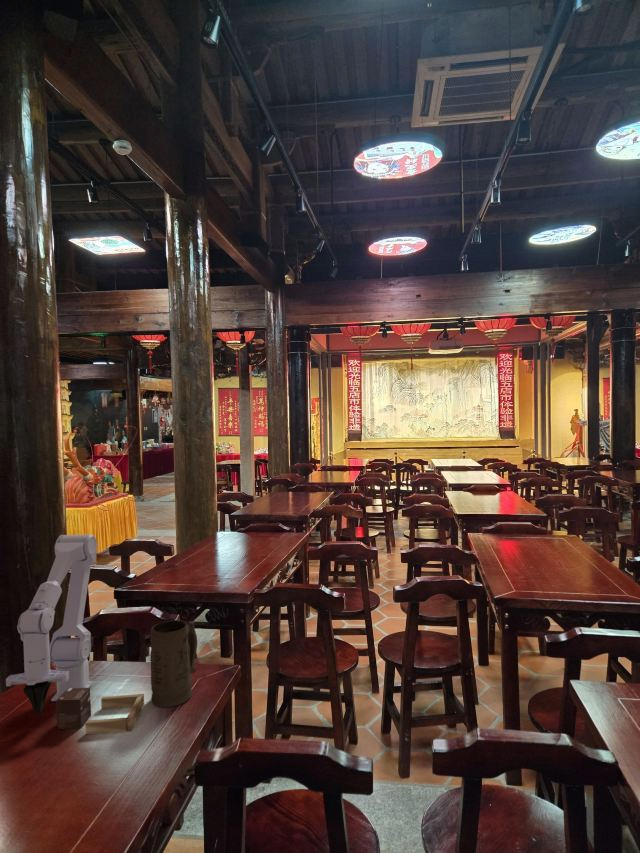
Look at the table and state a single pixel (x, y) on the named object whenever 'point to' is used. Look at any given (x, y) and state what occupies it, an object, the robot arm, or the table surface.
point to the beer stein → (172, 662)
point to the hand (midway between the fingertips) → (39, 711)
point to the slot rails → (117, 723)
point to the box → (73, 708)
